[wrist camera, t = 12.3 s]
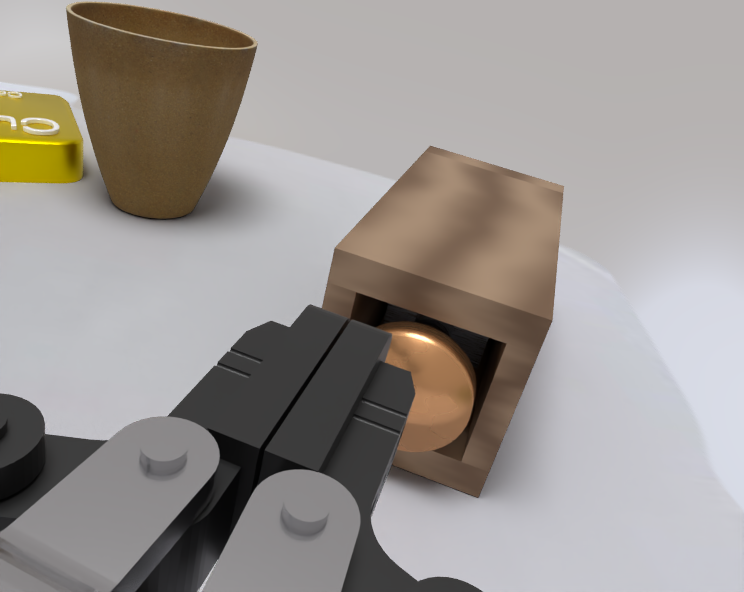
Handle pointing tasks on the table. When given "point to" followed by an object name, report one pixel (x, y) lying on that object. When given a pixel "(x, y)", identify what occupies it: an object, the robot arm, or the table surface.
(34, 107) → the element tile
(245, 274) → the table surface
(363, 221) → the box
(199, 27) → the plant pot
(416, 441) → the plunger
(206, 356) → the table surface
